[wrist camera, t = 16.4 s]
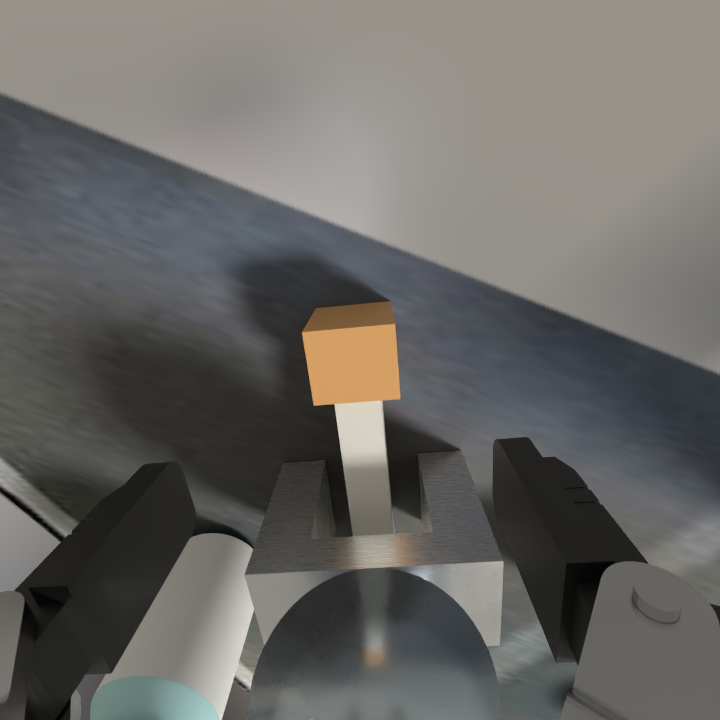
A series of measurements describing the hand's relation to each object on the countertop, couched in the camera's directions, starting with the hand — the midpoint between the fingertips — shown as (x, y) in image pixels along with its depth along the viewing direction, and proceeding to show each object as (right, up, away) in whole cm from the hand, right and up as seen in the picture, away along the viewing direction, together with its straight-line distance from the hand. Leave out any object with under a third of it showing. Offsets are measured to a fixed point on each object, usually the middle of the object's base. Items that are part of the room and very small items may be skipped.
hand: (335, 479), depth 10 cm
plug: (+1, -3, +17) cm, 17 cm away
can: (-10, -13, +21) cm, 27 cm away
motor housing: (+2, -6, +18) cm, 19 cm away
